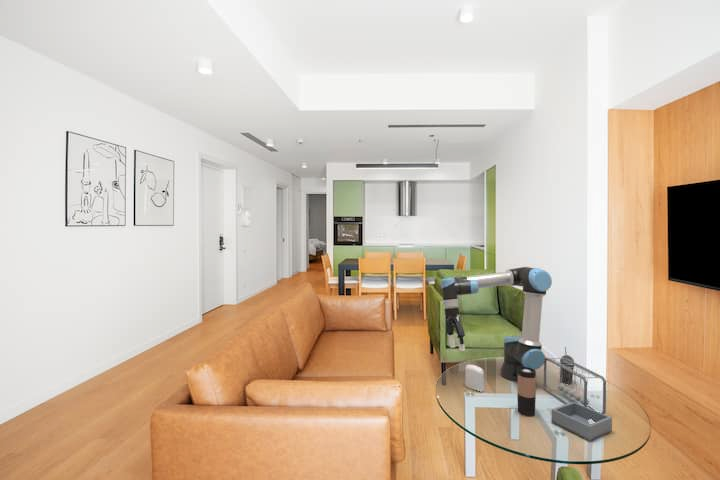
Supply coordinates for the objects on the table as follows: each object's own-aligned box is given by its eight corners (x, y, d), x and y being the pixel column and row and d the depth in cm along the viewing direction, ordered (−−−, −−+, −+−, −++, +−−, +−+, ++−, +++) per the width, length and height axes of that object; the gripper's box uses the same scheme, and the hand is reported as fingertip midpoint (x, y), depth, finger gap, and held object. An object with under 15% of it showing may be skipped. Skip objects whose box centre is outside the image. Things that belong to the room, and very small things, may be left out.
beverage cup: (569, 387, 191) (569, 350, 191) (556, 382, 197) (557, 346, 197) (577, 384, 194) (577, 348, 194) (564, 379, 201) (564, 345, 201)
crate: (573, 414, 161) (573, 401, 161) (611, 432, 146) (612, 417, 146) (551, 422, 153) (551, 409, 153) (589, 441, 139) (589, 426, 139)
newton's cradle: (606, 417, 159) (606, 378, 159) (584, 418, 158) (585, 378, 158) (561, 388, 189) (561, 355, 189) (543, 389, 188) (543, 356, 188)
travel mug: (513, 409, 166) (514, 366, 166) (529, 408, 166) (529, 366, 166) (522, 417, 158) (523, 373, 158) (538, 416, 159) (539, 372, 159)
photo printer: (463, 386, 191) (464, 363, 190) (468, 384, 193) (468, 362, 193) (480, 393, 182) (480, 369, 182) (485, 391, 185) (485, 367, 185)
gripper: (437, 308, 197) (442, 347, 193) (452, 308, 172) (459, 353, 169) (450, 306, 198) (455, 345, 194) (467, 306, 173) (474, 351, 170)
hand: (457, 349), depth 181 cm, fingers open, 13 cm apart
